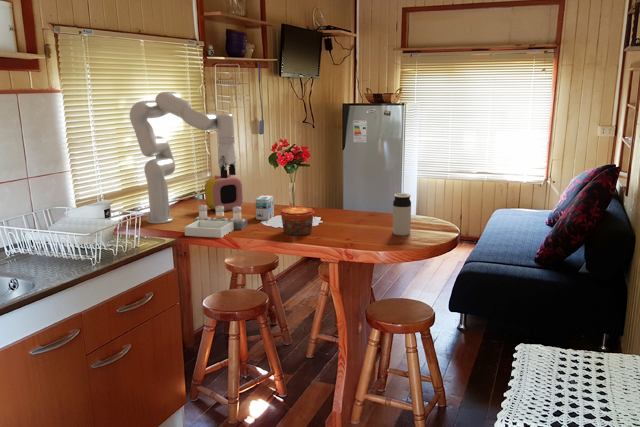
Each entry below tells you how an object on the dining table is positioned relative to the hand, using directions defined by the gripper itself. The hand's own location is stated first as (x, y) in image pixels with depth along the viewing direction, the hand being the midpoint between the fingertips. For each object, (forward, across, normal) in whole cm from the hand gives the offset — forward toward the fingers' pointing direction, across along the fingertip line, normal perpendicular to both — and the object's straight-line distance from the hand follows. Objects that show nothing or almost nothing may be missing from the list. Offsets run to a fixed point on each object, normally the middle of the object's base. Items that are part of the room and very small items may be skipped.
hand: (228, 176), depth 258 cm
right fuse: (+24, +2, +4) cm, 25 cm away
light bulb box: (+25, -20, +10) cm, 34 cm away
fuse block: (+24, +2, -5) cm, 25 cm away
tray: (+24, +14, -5) cm, 28 cm away
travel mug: (+25, -2, +82) cm, 86 cm away
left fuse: (+24, +2, -14) cm, 28 cm away
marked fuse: (+24, +2, -5) cm, 25 cm away
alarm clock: (+24, -35, -18) cm, 46 cm away
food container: (+25, +5, +35) cm, 43 cm away
